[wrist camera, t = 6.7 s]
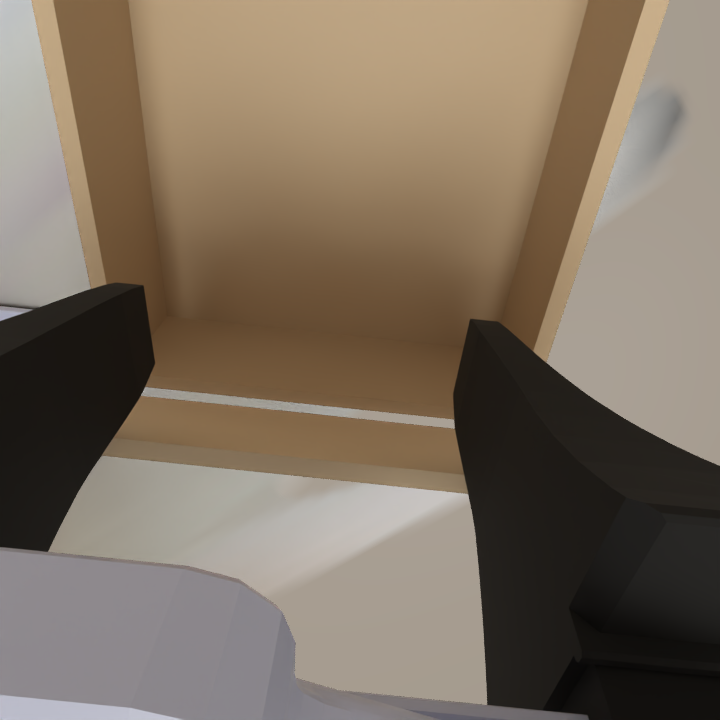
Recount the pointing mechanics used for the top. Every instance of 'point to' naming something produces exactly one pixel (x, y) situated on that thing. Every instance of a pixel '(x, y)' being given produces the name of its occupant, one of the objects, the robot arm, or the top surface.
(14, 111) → the top surface
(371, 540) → the top surface
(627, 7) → the carton
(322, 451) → the flap
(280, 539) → the top surface
